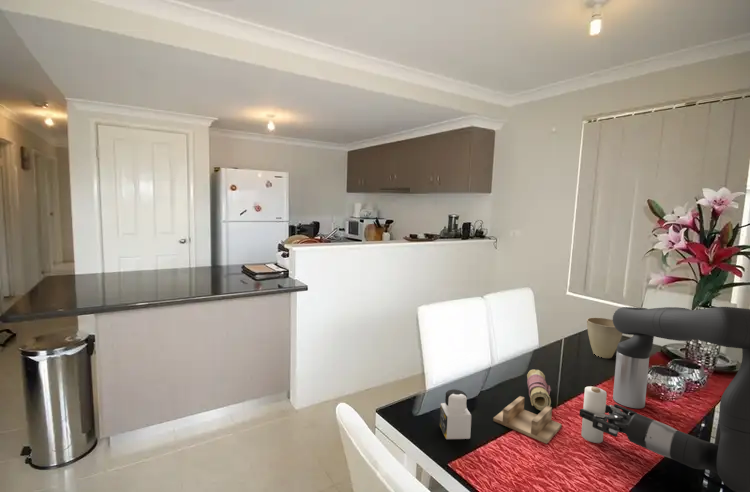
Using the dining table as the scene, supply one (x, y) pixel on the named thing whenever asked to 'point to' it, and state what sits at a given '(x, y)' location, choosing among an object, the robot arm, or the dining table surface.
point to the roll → (596, 405)
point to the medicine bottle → (455, 416)
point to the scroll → (538, 389)
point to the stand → (528, 421)
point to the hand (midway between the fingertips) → (587, 407)
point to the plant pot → (603, 336)
